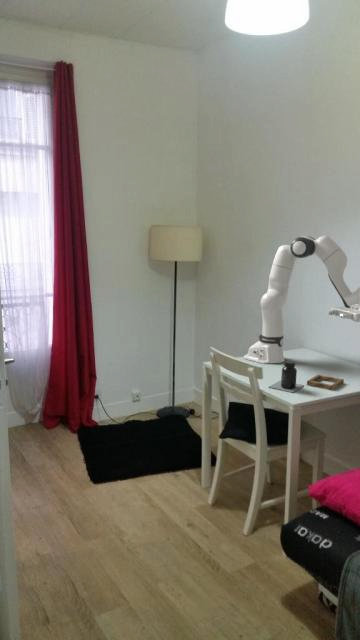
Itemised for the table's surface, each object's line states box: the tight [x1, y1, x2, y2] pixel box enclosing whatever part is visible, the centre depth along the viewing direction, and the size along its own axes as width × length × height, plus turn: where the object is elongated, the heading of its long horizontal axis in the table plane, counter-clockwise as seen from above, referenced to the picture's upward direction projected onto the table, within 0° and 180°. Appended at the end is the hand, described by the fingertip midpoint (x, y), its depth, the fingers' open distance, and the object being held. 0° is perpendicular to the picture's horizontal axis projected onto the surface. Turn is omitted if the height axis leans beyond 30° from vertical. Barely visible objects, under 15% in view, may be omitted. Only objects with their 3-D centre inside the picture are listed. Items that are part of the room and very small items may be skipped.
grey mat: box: [268, 379, 305, 394], centre depth 249 cm, size 12×12×1 cm
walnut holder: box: [306, 374, 345, 391], centre depth 253 cm, size 13×13×2 cm
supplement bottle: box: [280, 360, 298, 389], centre depth 246 cm, size 7×7×12 cm
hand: (335, 314), depth 255 cm, fingers open, 8 cm apart
